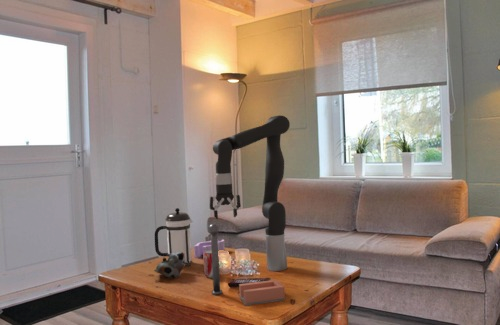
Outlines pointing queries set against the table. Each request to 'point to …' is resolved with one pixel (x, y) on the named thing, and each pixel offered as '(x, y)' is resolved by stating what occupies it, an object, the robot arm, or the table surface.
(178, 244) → the coffee press
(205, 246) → the clip
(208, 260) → the soda can
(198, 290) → the table surface
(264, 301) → the felt mat
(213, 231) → the stand
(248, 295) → the c link
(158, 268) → the dark grey lumpy piece
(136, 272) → the table surface
